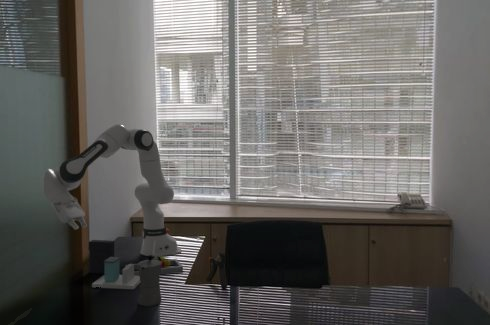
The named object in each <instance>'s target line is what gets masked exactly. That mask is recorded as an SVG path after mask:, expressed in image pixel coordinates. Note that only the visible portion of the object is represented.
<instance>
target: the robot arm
mask: <svg viewBox="0 0 490 325" xmlns="http://www.w3.org/2000/svg"><path fill="white" fill-rule="evenodd" d="M120 149H122V150H128V151H129V150H130V151H137V153H138V160H139V167H140V168H139V169H140V174H141V176H142V178H144V179H145V181H146V182H145V183H144V182H142V183H139V184H138V185H136V187H135V189H134V196H135V198H136V199H137V201H138V202H139V204H140V206H141V207H140V208H141V210H142V214H143V227H142V244H141V249H140V252H139V253H140V255H142V256H147V257H148V256H149V255H152V257H154V258H155V257H157V256H161V257H163V256H171V255H177V254H181V253H182V248H181V247H180V246H178V242H177V240H176V239H175V238H174V237H173V236H172V235H170V234H169V232H170V229H169V228H167V227H165V224H164V223H165V215H164V214H165V213H164V212H163V210H161V208H160V206H159V205H167V204H170V203H171V202H172V201H173V200H174V196H175V191H174V189H173V188H172V187H171V185H170V184H168V182H167V180H166V178H165V176H164V174H163V169H162V163H161V158H160V152H159V147H158V144H157V142H156V141H155V140H154V136H153V134H152V132H150V131H149V130H147V129H143V128H141V129H140V128H132V129H128V128H126V126H124V125H123V124H119V123H118V124H117V123H116V124H114V125H112V126H110V127H108V128H107V129H106V130H104V131H103V132H102V133H101V134H100V135H98V137H96V138H95V140H94V141H93V142H92V143H91V145H89V146H88V147H87V148H86V149H85V150H83V151H82V152H81V153H80V154H78V155H76V156H74V157H71V158H69V159H65V160H64V161H63V162H62V163H61V165H60V167H59V169H58V168H57V169H52V168H47V169H48V170H47V171H46V173H45V177H44V194H45V196H44V197H45V198H46V199H47V200H48V201H47V202H48V203H49V204H50V207H51V208H52V209H53V211H54V213H55V214H56V216H57V218H58V220H59V221H60V222H61V223H63V224H65V223H67V224H68V225H69V226H70V227H72V228H73V230H75V231H76V230H78V229H79V228H80V226H81V227H82V229H83V228H86V227H87V226H88V224H87V223H86V221H85V217H86V213H85V211H84V209H83V208H82V206H81V204H80V203H79V202H78V198H77V197H75V196H74V195H72V194H71V193H70V191H73V190H75V189H76V188H78V187H80V185H81V183H82V182H83V179H84V176H85V174H86V171H87V169H88V167H89V166H91V165H92V164H93V163H94V162H95V161H96V160H97V159H99V158H105V159H107V158H109V157H111V156H113V155H114V154H116V153H117V152H118V151H119V150H120ZM75 221H77V222H79V223H80V226H79V224H77V223H76V222H75Z"/></svg>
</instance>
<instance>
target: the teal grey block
mask: <svg viewBox="0 0 490 325" xmlns="http://www.w3.org/2000/svg"><path fill="white" fill-rule="evenodd" d="M120 260H121V257H120V256H114V257H109V258H108V259H106V260H105V261H104V263H105V274H103V275H104V281H109V282H114V281H115V280H116V279H117V278H119V275H120Z"/></svg>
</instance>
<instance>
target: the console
mask: <svg viewBox="0 0 490 325" xmlns="http://www.w3.org/2000/svg"><path fill="white" fill-rule="evenodd" d="M134 264H135V263H129V264H126V265H127V266H126V267H125V266H124V267H123V269H122V271H121V272H122V274H119V278H117V279H116V280H115V281H114V282H109V281H104V275H105V274H103V275H102V276H100V277H99V278H98V279H97V280H95V281H94V282H92V283H91V288H96V287H99V288H98V289H119V290H135V289H136V287H138V285H140V284H141V281H140V276H134V271H135V270H134ZM100 287H101V288H100Z"/></svg>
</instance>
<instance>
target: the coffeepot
mask: <svg viewBox="0 0 490 325" xmlns="http://www.w3.org/2000/svg"><path fill="white" fill-rule="evenodd" d="M153 259H154V260H153ZM137 264H138V269H137V270H138V271H139V276H140V281H141V282H140V288H139V293H138V294H139V295H138V299H137V304H138V305H140V306H142V307H152V306H156V305H159V304H160V303H161V302H162V295H161V286H160V278H161V274H160V271H161V264H162V261H161V258H160V257H159V256H158V257H156V258H155V257H154V258H153V256H152V255H149V256H147V259H145V260H141V261H139V262H138V263H137Z"/></svg>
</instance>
